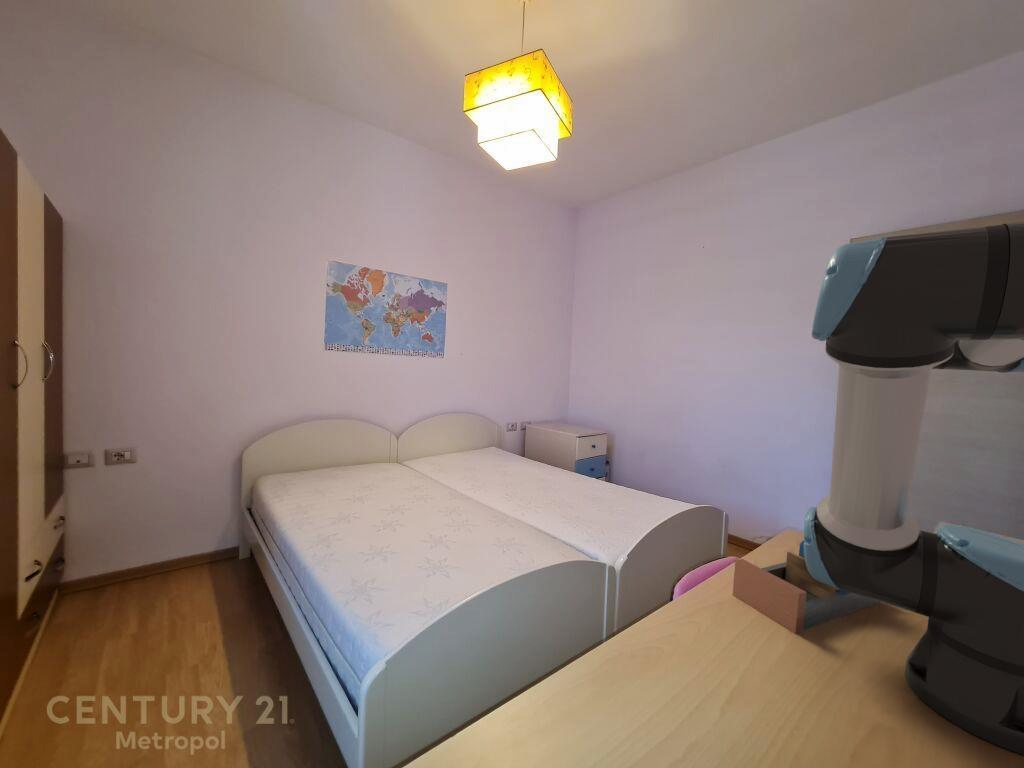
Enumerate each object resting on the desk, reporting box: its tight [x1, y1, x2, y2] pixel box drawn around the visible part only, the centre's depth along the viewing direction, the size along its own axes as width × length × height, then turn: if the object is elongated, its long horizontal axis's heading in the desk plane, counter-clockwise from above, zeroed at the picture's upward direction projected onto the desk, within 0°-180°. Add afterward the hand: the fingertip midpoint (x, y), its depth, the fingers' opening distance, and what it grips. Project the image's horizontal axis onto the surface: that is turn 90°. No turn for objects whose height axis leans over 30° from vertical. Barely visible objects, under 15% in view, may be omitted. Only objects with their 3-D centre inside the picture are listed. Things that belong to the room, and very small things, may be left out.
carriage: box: [785, 551, 841, 598], centre depth 83 cm, size 9×12×6 cm
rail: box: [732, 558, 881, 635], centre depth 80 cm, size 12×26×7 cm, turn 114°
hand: (866, 500), depth 86 cm, fingers open, 10 cm apart
